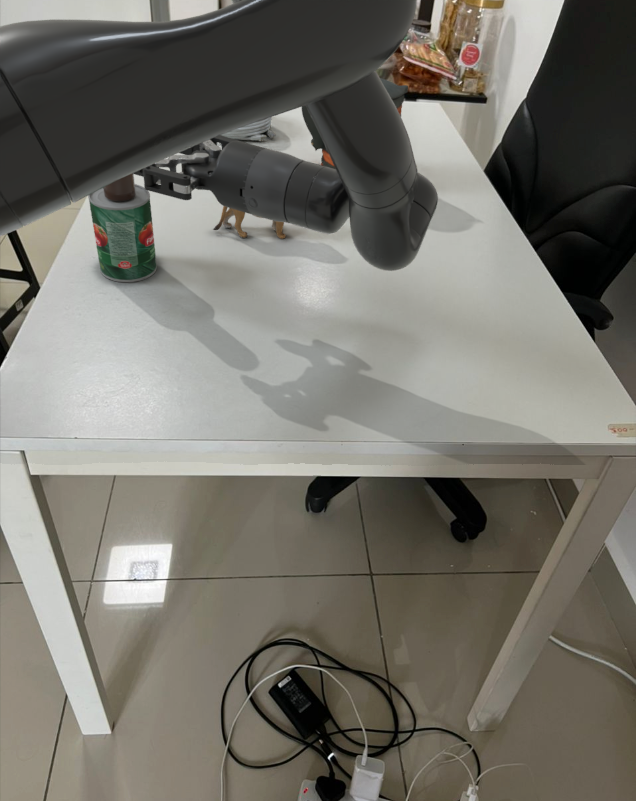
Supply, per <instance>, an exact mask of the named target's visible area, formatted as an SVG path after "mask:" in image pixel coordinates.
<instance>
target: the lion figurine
mask: <svg viewBox="0 0 636 801" xmlns="http://www.w3.org/2000/svg"><path fill="white" fill-rule="evenodd" d="M222 206H223V205H222ZM245 216H246V213H245V212H242V211H238V210H235V209H232V208H228V207H225V206H223V207H222V211H221V215H220V219H219V222H218V223H217V224H216V225H214V226H215V227H214V228H213V229H212V230H213V231H219V230H220V228H222V225H223V227H224V228H226V229H230V228H232V226H233V225H232V223H231V222H229V220H230V218H233V217H234V218H235V222H234V229H235V230H236V232H237V234H238V236H239V237H240V238H247V237H248V232H247V231H243V228H242V224H243V221H244V219H245ZM252 216H254V217H255V218H259V219H263V218H262V217H259V216H255V215H252ZM284 225H285V222H278V221H273V220H272V223H271V227H272V229H273V231H275V233H276V236H277V238H279V239H280V240H282V239H285V238H286V233H285V232H283V229H284Z"/></svg>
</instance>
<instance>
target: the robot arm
mask: <svg viewBox="0 0 636 801" xmlns="http://www.w3.org/2000/svg"><path fill="white" fill-rule="evenodd" d="M230 1H231V4H229V5H227V6H223V7H222V8H219V9H216V10H212V11H210V12H206V13H203V14H199V15H195V16H192V17H186V18H182V19H173V20H163V21H128V20H127V21H125V20H105V19H104V20H103V19H40V20H39V19H38V20H25V21H20V22H19V21H18V22H13V23H8V24H5V25H0V237H3V236H5V235H7V234H11V233H12V232H15V231H17V230H19V229H22V228H23V227H26V226H29V225H30V224H32V223H34V222H37V221H39V220H41V219H43V218H45V217H48V216H49V215H52V214H54V213H56V212H58V211H60V210H62V209H64V208H66V207H68V206H70V205H72V203H73V204H74V203H76V202H79V201H81V200H82V199H84V198H87V197H88V195H90V194H92V193H94V192H96V191H97V190H99V189H101V188H103V187H105V186H107V185H109V184H111V183H113V182H115V181H117V180H119V179H121V178H123V177H125V176H127V175H129V174H134V176H139V177H142V178H143V187H144V188H145V190H148V191H149V192H152V193H156V194H159V195H163V196H168V197H170V198H175V199H179V200H183V201H190V200H192V199H193V196H192V192H193V191H194V190H198V191H210V192H211V193H212V194H213V196H214V197H215V199H216V201H217V202H218V203H219V204H220V205H221V206H225V207H228V208H227V209H229V208H232V209H235V210H238V211H242V212H245V214H248V215H252V216H253V215H255V216H254V217H256V216H259V217H262V218H261V219H266V220H268V221H269V220H270V221H272V222H273V221H278V222H284V224H285V223H287V224H291V225H294V226H297V227H301V228H304V229H308V230H310V231H313V232H317V233H321V234H326V235H332V234H335V233H337V232H339V231H340V229H341V228H342V227H343V226H344V225H345V224H346V223H347V221H348V219H349V227H350V228H349V229H350V234H351V239H352V242H353V245H354V247H355V249H356V251H357V252H358V254H359V255H360V257H362V259H363V260H364V261H365V262H366V263H368V264H369V265H370V266H372V267H374V268H376V269H378V270H381V271H382V270H383V271H388V272H394V271H399V270H402V269H404V268H407V267H408V266H409V265H411V264H412V263H413V262H414V260H415V259H416V257H417V255H418V254H419V251H420V249H421V247H422V245H423V241H424V238H425V236H426V234H427V232H428V229H429V226H430V224H431V221H432V219H433V217H434V215H435V213H436V209H437V206H438V202H439V196H438V194H439V193H438V191H437V189H436V187H435V185H434V184H433V182H432V181H430V180H429V179H428V178H427V176H424V175H423V174H421V173H419V172H418V167H417V163H416V159H415V155H414V150H413V147H412V142H411V138H410V136H409V133H408V130H407V128H406V126H405V123H404V121H403V118H402V115H401V116H400V114H399V112H398V110H397V108H396V106H395V104H394V103H393V101H392V99H391V97H390V95H389V94H388V92H387V90H386V88H385V87H384V85H383V83H382V81H381V80H380V78H381V77H380V76H379V74H378V72H377V70H379V69H380V68H381V67H382V66H383V65H384V64H385V63H387V62H388V61H389V60H390V58H391V57H392V56H393V55H394V53H396V51H397V50H398V49H399V47H400V46H401V44H402V42H403V41H404V40H405V38H406V37H407V35H408V33H409V31H410V28H411V27H412V24H413V22H414V19H415V15H416V11H417V5H418V3H417V2H418V0H230ZM302 106H306V108H307V110H308V111H309V113H310V115H311V117H312V119H313V121H314V123H315V125H316V128H317V130H318V132H319V134H320V136H321V138H322V140H323V142H324V144H325V147H326V149H327V151H328V153H329V155H330V157H331V160H332V162H333V164H334V166H335V169H334V168H330V167H326V166H323V165H321V164H319V163H315V162H312V161H308V160H307V161H306V160H303V159H300V158H298V157H296V156H294V155H291V154H289V153H285V152H283V151H280V150H279V151H278V150H275V149H271V148H267V147H265V146H260V145H257V144H252V143H248V142H245V141H243V140H237V139H232V138H228V137H225V136H222V134H224V133H227V132H230V131H232V130H235V129H238V128H241V127H243V126H246V125H249V124H252V123H255V122H258V121H261V120H264V119H267V118H270V117H275V116H279V115H281V114H284V113H287V112H290V111H293V110H296V109H299V108H302ZM218 143H219V144H220V145H218ZM220 146H221V147H220ZM180 164H181V171H180V172H177V166H178V165H180ZM165 168H168V169H169V170H168V169H165ZM259 217H258V218H259Z"/></svg>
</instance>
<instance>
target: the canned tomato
mask: <svg viewBox="0 0 636 801" xmlns="http://www.w3.org/2000/svg"><path fill="white" fill-rule="evenodd" d="M135 192H136V195H135V197H133V198H132V199H129V200H125V201H114V200H110V199H108V198H106V197H105V195H104V189H103V188H101V189H99V190H97V191H96V192H94V193H92V194H90V195H88V196H87V199H88V202H89V208H90V209H89V210H90V215H91V221H92V227H93V233H94V239H95V246H96V251H97V256H98V257H97V258H98V263H99V271H100V273H101V274H102V276H103V277H104V278H106V279H108V280H111V281H114V282H118V283H135V282H136V283H137V282H140V281H144V280H146V279H149V278H150V277H151V276H153V275H154V274H155V273H156V271H157V268H158V264H157V258H156V257H157V256H156V248H155V247H156V245H155V237H154V236H155V235H154V227H153V225H154V224H153V215H152V206H151V193H150V191H148V190H145V187H144V186H142V185H139V184H136V183H135Z"/></svg>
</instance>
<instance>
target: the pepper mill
mask: <svg viewBox="0 0 636 801" xmlns="http://www.w3.org/2000/svg"><path fill="white" fill-rule="evenodd" d="M135 184H136V183H135V174H129V175H127V176H125V177H123V178H121V179H119V180H117V181H115V182H113V183H111V184H109V185H107V186H105V187H103V189H104V195H105V197H106V198H108V199H110V200H114V201H125V200H129V199H132V198H133V197H135V195H136V192H135Z"/></svg>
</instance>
